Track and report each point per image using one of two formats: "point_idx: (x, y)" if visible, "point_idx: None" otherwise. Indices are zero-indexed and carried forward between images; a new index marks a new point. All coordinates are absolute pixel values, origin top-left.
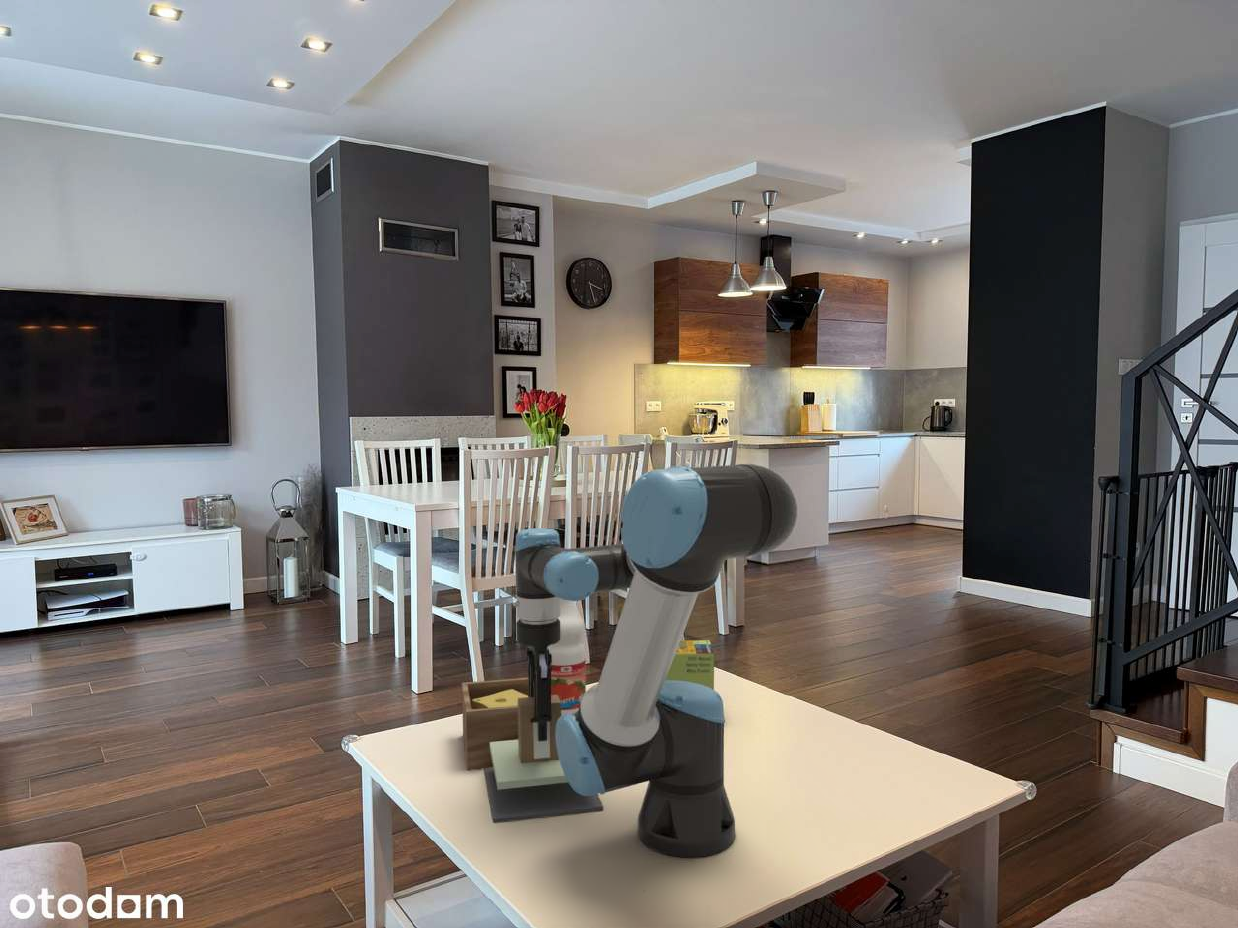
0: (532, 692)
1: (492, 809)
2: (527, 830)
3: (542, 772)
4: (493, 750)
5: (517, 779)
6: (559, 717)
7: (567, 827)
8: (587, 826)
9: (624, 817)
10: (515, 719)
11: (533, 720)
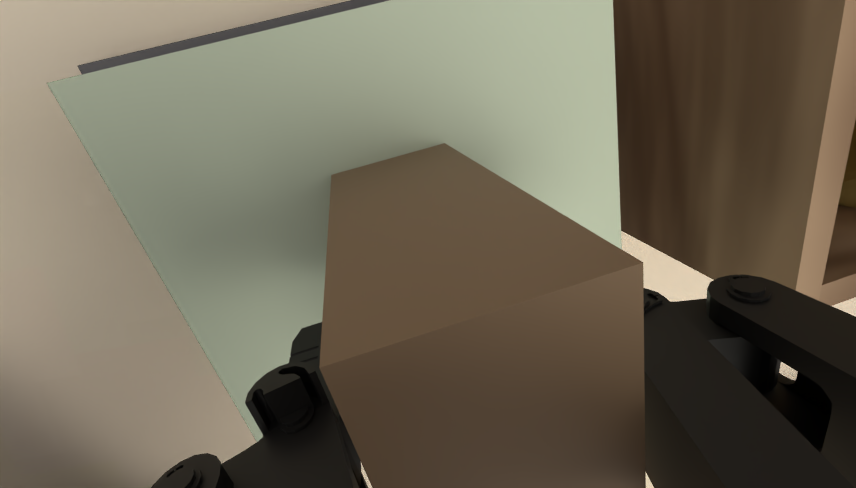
0: (689, 453)
1: (169, 48)
2: (62, 211)
3: (237, 290)
4: None
5: (124, 189)
6: None
7: (126, 330)
8: (149, 380)
9: (229, 452)
10: (746, 94)
11: (254, 413)
